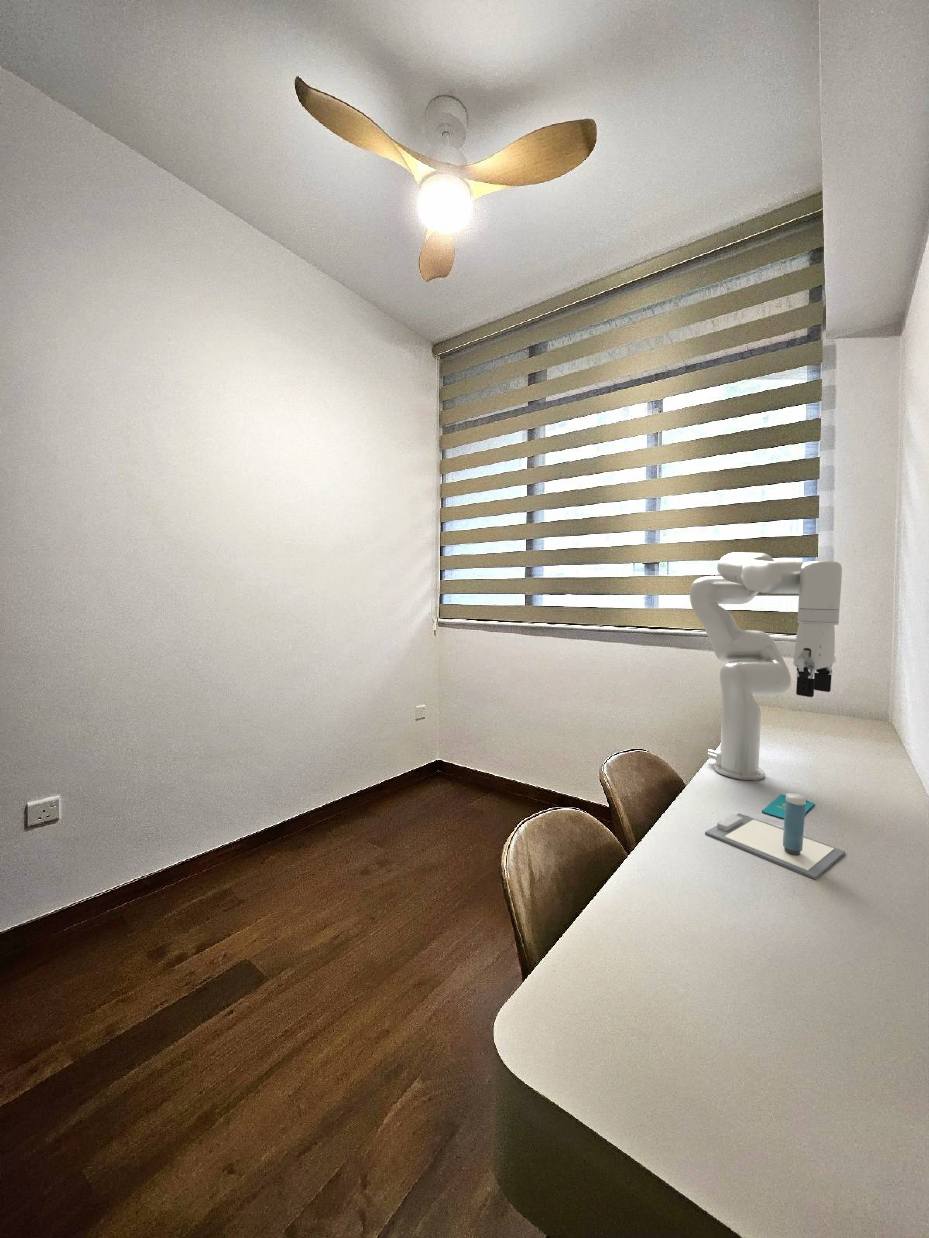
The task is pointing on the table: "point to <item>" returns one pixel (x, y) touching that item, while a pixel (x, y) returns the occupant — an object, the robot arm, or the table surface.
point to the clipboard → (775, 845)
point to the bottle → (794, 823)
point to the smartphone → (782, 807)
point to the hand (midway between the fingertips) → (813, 693)
